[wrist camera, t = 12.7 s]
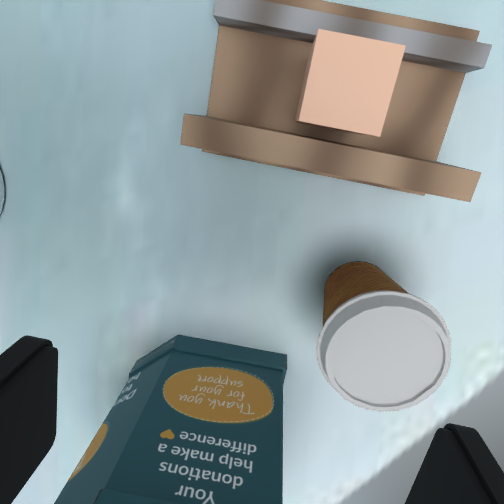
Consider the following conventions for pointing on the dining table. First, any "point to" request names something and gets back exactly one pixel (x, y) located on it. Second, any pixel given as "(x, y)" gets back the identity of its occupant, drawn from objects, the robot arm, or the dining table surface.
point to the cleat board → (324, 139)
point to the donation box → (190, 430)
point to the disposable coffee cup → (380, 340)
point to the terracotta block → (348, 83)
